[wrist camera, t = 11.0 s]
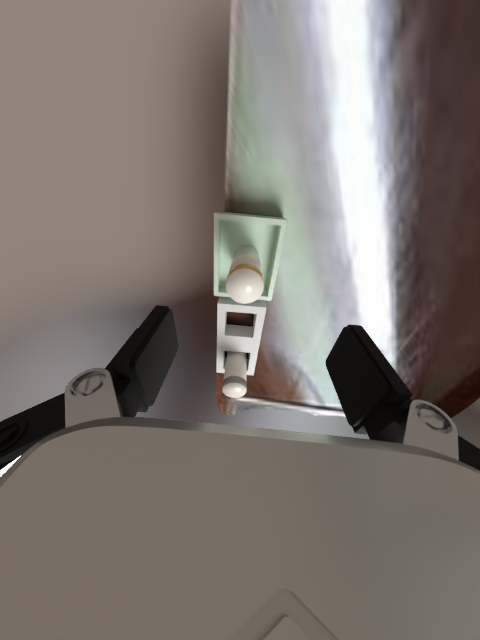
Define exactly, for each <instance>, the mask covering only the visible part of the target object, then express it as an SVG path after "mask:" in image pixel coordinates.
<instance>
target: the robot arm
mask: <svg viewBox="0 0 480 640" xmlns="http://www.w3.org/2000/svg"><path fill="white" fill-rule="evenodd" d="M177 350H178V341H177V335H176V329H175V323H174V317H173V312H172V310H171V309H169V307H167V306H159V305H158V306H155V308H154V309H153V310H152V312H151V313H150V314H149V315H148V317H147V318H146V319H145V321H144V322H143V323H142V324H141V326H140V327H139V328H138V329H136V330H135V331H134V333H133V334H132V335H131V336H130V338H129V339H128V340H127V341H126V343H125V344H124V345H123V346H122V348H121V349H120V350H119V352H118V353H117V354H116V355H115V357H114V358H113V359H112V360H111V362H110V363H109V364H108V365H107V367H106V368H105V369H104V368H93V369H89V370H86V371H85V372H82V373H80V374H78V375H77V376H75V377H74V378H73V379H72V380H71V381H70V382H69V383H68V385H67V386H66V389H65V393H63V394H61V395H58V396H56V397H54V398H52V399H50V400H47V401H45V402H43V403H41V404H38V405H36V406H34V407H32V408H30V409H27V410H25V411H23V412H21V413H18V414H16V415H14V416H12V417H10V418H7V419H5V420H3V421H1V422H0V640H480V449H479V448H477V447H476V446H474V445H473V444H471V443H469V442H468V441H466V440H465V439H463V438H462V437H460V436H458V431H457V428H456V426H455V424H454V422H453V421H452V420H451V418H450V417H449V416H448V415H447V414H446V413H444V412H443V411H442V410H441V409H439V408H438V407H436V406H435V405H433V404H431V403H429V402H426V401H423V400H414V401H412V400H411V399H410V396H412V393H411V392H410V390H409V389H408V388H407V386H406V385H405V384H404V382H403V381H402V380H401V378H400V377H399V376H398V374H397V373H396V372H395V370H394V369H393V368H392V366H391V365H390V364H389V362H388V361H387V359H386V358H385V357H384V355H383V354H382V353H381V351H380V350H379V349H378V347H377V346H376V345H375V343H374V342H373V341H372V339H371V338H370V337H369V335H368V334H367V332H366V331H365V330H364V328H363V327H362V326H358V325H348V326H347V327H344V328H343V330H342V332H341V333H340V335H339V337H338V339H337V341H336V343H335V344H334V346H333V348H332V350H331V352H330V354H329V356H328V357H327V359H326V367H327V369H328V372H329V375H330V377H331V380H332V382H333V385H334V387H335V390H336V393H337V395H338V398H339V400H340V403H341V405H342V408H343V411H344V413H345V416H346V418H347V421H348V423H349V424H350V425H351V426H352V427H353V430H354V432H355V433H358V434H368V436H369V438H370V439H369V440H368V439H359V438H351V437H341V436H331V435H322V434H312V433H303V432H293V431H283V430H273V429H263V428H253V427H243V426H233V425H222V424H212V423H202V422H191V421H180V420H168V419H155V418H141V417H135V416H136V413H137V412H147V410H148V407H149V406H152V405H153V404H154V402H155V399H156V397H157V395H158V393H159V390H160V388H161V386H162V384H163V382H164V379H165V377H166V375H167V373H168V370H169V368H170V366H171V363H172V361H173V359H174V357H175V355H176V353H177Z"/></svg>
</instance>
